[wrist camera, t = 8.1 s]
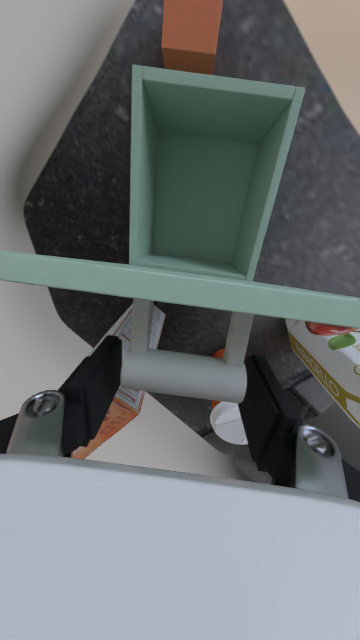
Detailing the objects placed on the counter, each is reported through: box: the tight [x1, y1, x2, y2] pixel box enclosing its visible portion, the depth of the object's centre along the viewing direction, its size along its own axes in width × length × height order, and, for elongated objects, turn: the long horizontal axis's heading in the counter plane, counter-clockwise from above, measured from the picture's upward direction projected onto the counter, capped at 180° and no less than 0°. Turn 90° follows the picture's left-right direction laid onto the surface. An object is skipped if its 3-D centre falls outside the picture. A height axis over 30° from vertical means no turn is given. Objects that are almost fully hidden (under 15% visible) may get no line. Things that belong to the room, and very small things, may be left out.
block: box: [162, 0, 223, 75], centre depth 20 cm, size 5×5×5 cm
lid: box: [0, 251, 360, 404], centre depth 14 cm, size 16×14×5 cm
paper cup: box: [210, 349, 248, 445], centre depth 32 cm, size 8×8×14 cm
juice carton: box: [285, 319, 360, 428], centre depth 25 cm, size 8×9×19 cm
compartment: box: [129, 65, 305, 281], centre depth 23 cm, size 16×14×10 cm
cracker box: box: [73, 304, 166, 459], centre depth 27 cm, size 14×6×21 cm, turn 137°
